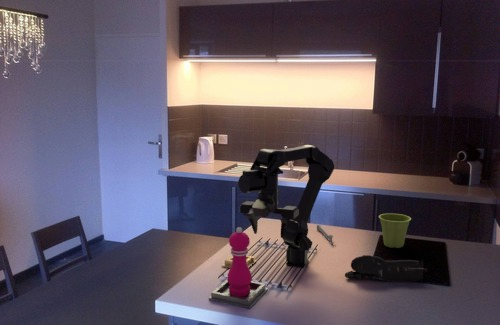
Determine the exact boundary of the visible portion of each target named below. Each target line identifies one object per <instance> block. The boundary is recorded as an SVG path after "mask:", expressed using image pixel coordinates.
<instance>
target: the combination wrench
mask: <svg viewBox="0 0 500 325" xmlns="http://www.w3.org/2000/svg"><path fill="white" fill-rule="evenodd" d="M316 231H318V232H321V233H322V234H323V235H324V236H325V237H326V238H327V239H328V241H329V244H330V245H334V241H333V238H334V236H333V234H330V235H329V233H328V232H327V231H326V230H325V229H324V228H323V227H322V225H321V224H317V225H316Z"/></svg>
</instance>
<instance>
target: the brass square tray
mask: <svg viewBox="0 0 500 325" xmlns="http://www.w3.org/2000/svg"><path fill="white" fill-rule="evenodd" d="M256 261H257V262H258V260H256V259H255V256H251V255H246V262H247V266H248V268H249V267H250V266H251V265H252V264H253V263H255V262H256ZM232 262H233V256H232V255H231V256H230V257H228V259H227V258H226V259H225V260H224V263H223V264H222V265H221V266H222V268H226V269H230V268H231V265H232ZM257 262H256V263H257ZM256 263H255V264H256ZM251 267H252V266H251ZM251 267H250V268H251ZM250 268H249V269H250Z"/></svg>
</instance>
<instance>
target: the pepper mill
mask: <svg viewBox="0 0 500 325" xmlns="http://www.w3.org/2000/svg"><path fill="white" fill-rule="evenodd" d="M235 230H236V231H235V232H233V233H231V235H229V238H228V244H229V246H230V247H231V248H230V254H231V256H233V262H232V265H231V268H229V270H228V273H227V278H226V280H227V281H228V283H229V284H230V286H229V293H230V294H231V295H233V296H238V297H244V296H247V295H249V293H250V286H249V284H250V283H251V281H253V277H252V276H253V275H252V273H251V270H250V268H248V266H247V262H246V256H248V254H249V248H248V247H249V246H250V242H251V241H250V237H249V235H248V234H247V233H245V232H244V231H243V228H242V227H241V226H240V227H239V226H238V227H237V228H236V229H235Z"/></svg>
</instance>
